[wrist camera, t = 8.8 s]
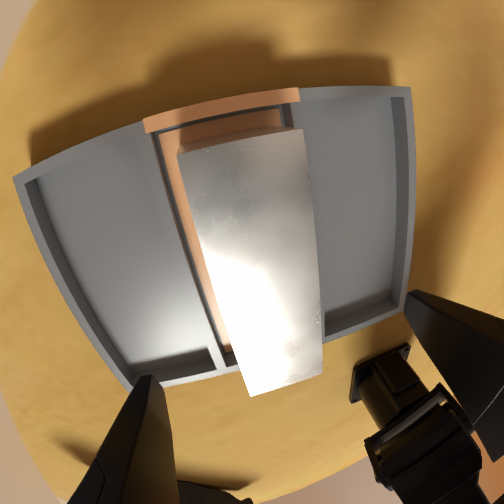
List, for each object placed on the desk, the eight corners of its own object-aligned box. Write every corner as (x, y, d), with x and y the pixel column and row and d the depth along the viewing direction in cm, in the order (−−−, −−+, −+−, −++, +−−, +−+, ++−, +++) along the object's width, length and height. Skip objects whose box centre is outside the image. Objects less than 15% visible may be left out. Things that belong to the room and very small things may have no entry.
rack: (389, 296, 20) (412, 320, 18) (130, 372, 18) (127, 406, 15) (388, 87, 13) (425, 87, 10) (30, 168, 11) (-1, 183, 8)
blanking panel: (295, 322, 18) (322, 373, 14) (235, 340, 18) (250, 396, 14) (265, 125, 12) (302, 128, 8) (179, 144, 12) (175, 155, 8)
